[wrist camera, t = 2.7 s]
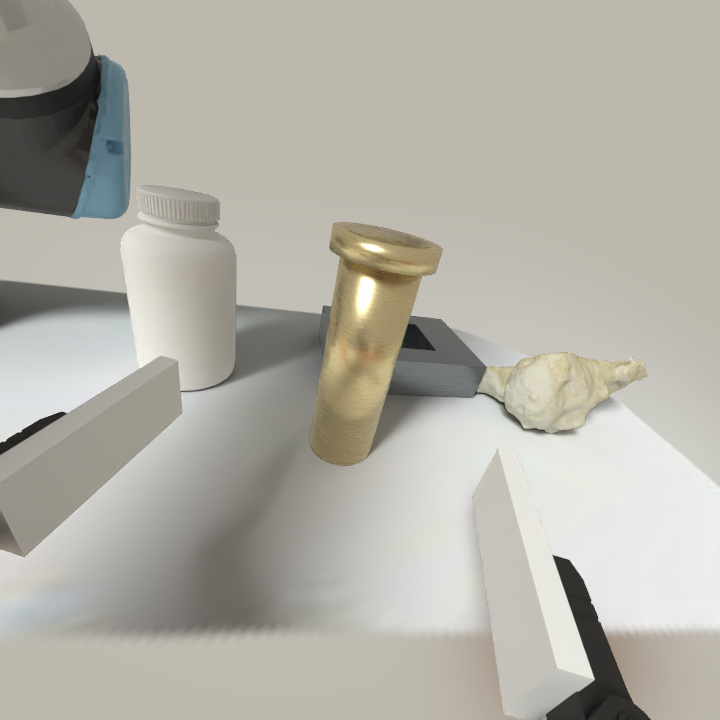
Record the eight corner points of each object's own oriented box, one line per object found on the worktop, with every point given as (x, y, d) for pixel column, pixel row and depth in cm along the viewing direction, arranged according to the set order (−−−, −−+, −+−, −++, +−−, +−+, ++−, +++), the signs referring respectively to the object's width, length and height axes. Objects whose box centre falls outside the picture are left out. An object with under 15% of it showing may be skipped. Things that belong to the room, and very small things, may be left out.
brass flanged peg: (284, 450, 25) (312, 225, 17) (322, 406, 30) (356, 220, 22) (363, 486, 23) (433, 259, 16) (388, 433, 29) (449, 244, 21)
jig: (329, 391, 32) (336, 355, 30) (318, 334, 42) (323, 305, 40) (472, 397, 37) (486, 367, 35) (432, 345, 47) (441, 319, 45)
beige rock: (455, 438, 33) (650, 432, 23) (447, 366, 35) (627, 331, 25) (512, 433, 44) (663, 428, 34) (504, 378, 46) (646, 358, 35)
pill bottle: (211, 341, 36) (208, 188, 29) (250, 378, 32) (259, 209, 24) (125, 358, 30) (95, 174, 23) (159, 405, 26) (134, 198, 19)
